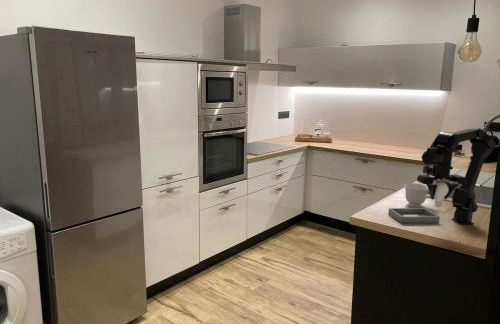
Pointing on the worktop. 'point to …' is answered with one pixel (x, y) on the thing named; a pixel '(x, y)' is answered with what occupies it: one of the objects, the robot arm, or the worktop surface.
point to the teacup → (416, 194)
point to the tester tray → (413, 215)
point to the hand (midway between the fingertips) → (438, 199)
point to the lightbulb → (440, 193)
